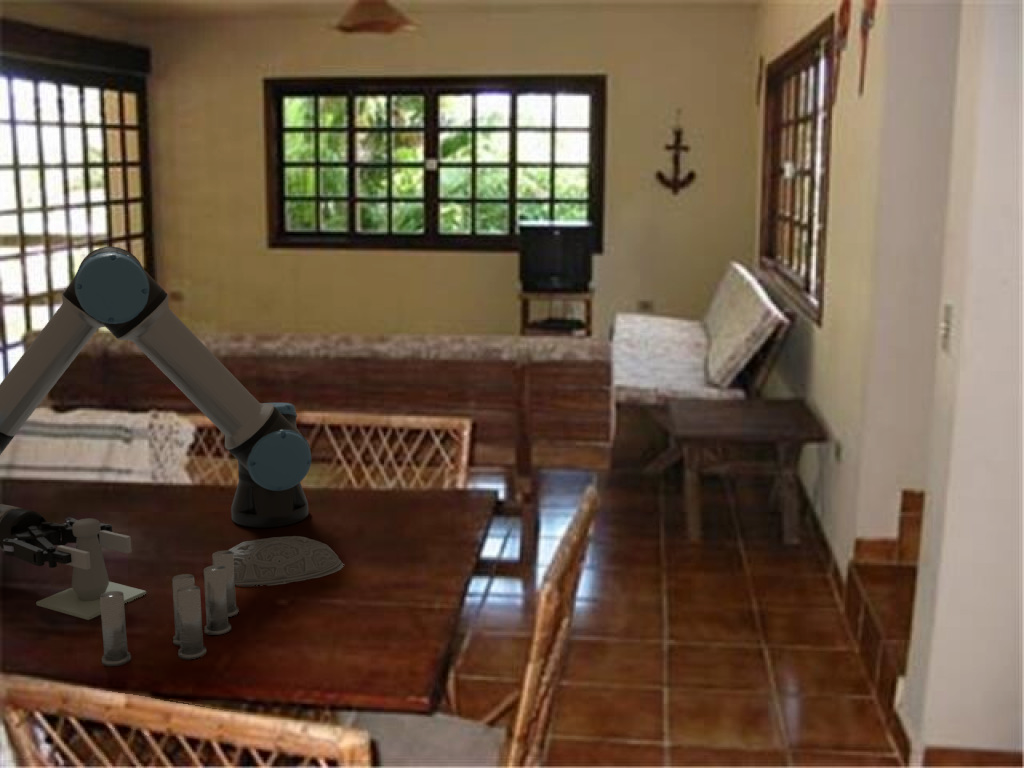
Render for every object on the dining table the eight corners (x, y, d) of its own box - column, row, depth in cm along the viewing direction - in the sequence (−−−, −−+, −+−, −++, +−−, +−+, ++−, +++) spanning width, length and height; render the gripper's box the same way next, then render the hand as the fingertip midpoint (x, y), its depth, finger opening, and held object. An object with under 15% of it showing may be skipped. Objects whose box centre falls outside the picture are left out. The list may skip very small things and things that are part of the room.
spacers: (237, 607, 185) (234, 548, 183) (253, 650, 169) (250, 586, 167) (99, 626, 178) (94, 565, 176) (102, 673, 162) (97, 606, 160)
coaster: (95, 581, 196) (95, 577, 196) (146, 594, 190) (146, 590, 190) (36, 605, 186) (36, 601, 186) (88, 620, 180) (88, 616, 180)
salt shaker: (77, 605, 184) (71, 528, 181) (68, 594, 189) (62, 519, 186) (114, 597, 187) (109, 521, 185) (104, 586, 192) (99, 512, 189)
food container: (198, 560, 205) (198, 526, 203) (337, 552, 213) (338, 518, 211) (204, 601, 191) (204, 564, 189) (353, 590, 199) (354, 555, 197)
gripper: (65, 533, 204) (158, 555, 193) (-38, 569, 187) (58, 596, 176) (62, 492, 203) (155, 512, 192) (-43, 526, 185) (54, 550, 174)
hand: (108, 552), depth 184 cm, fingers open, 8 cm apart
